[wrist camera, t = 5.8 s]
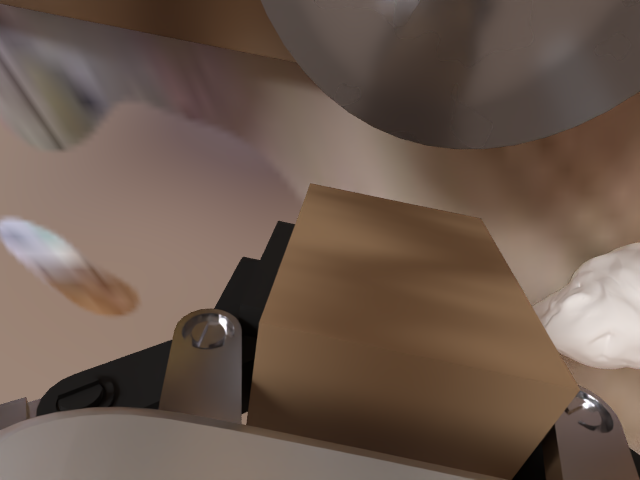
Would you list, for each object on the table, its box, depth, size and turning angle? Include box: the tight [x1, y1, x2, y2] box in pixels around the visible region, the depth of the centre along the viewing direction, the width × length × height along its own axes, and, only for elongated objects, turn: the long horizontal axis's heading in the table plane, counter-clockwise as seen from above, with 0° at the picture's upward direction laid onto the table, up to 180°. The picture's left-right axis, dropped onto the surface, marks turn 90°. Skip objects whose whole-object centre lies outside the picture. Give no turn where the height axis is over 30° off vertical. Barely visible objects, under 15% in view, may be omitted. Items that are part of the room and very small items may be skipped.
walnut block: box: [246, 183, 580, 480], centre depth 10 cm, size 5×5×6 cm
